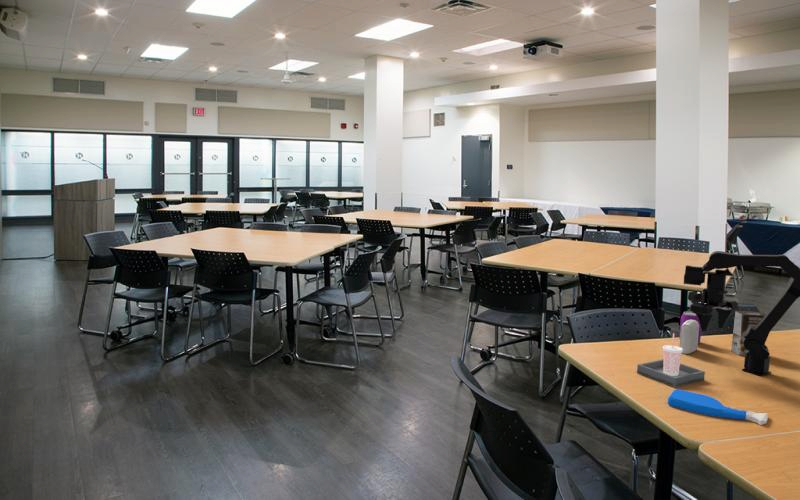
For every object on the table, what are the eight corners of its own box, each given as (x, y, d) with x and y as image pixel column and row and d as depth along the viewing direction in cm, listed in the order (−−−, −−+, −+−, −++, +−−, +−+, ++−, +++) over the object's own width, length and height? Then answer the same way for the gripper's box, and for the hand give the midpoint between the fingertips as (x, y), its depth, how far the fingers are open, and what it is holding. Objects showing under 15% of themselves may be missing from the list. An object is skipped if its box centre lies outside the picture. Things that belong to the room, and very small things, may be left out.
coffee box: (738, 355, 210) (742, 314, 208) (730, 350, 217) (734, 310, 214) (764, 356, 209) (768, 315, 207) (755, 351, 216) (759, 311, 214)
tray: (704, 380, 184) (704, 371, 184) (674, 387, 178) (675, 378, 177) (665, 366, 197) (666, 358, 197) (637, 372, 190) (637, 364, 190)
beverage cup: (659, 374, 187) (661, 333, 185) (662, 369, 192) (665, 329, 190) (679, 378, 183) (682, 336, 181) (682, 373, 188) (685, 332, 186)
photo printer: (687, 347, 221) (689, 316, 219) (698, 349, 217) (701, 318, 216) (677, 352, 213) (679, 321, 212) (689, 355, 210) (691, 323, 209)
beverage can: (685, 338, 233) (687, 310, 232) (703, 342, 227) (706, 314, 225) (675, 340, 229) (677, 312, 227) (693, 345, 223) (695, 316, 221)
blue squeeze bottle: (666, 397, 163) (766, 421, 148) (674, 386, 171) (769, 408, 157) (665, 407, 163) (765, 432, 148) (673, 396, 172) (768, 418, 157)
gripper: (710, 281, 207) (707, 321, 209) (677, 284, 199) (674, 327, 201) (740, 286, 197) (736, 329, 199) (707, 290, 189) (703, 335, 191)
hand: (712, 329), depth 198 cm, fingers open, 9 cm apart
